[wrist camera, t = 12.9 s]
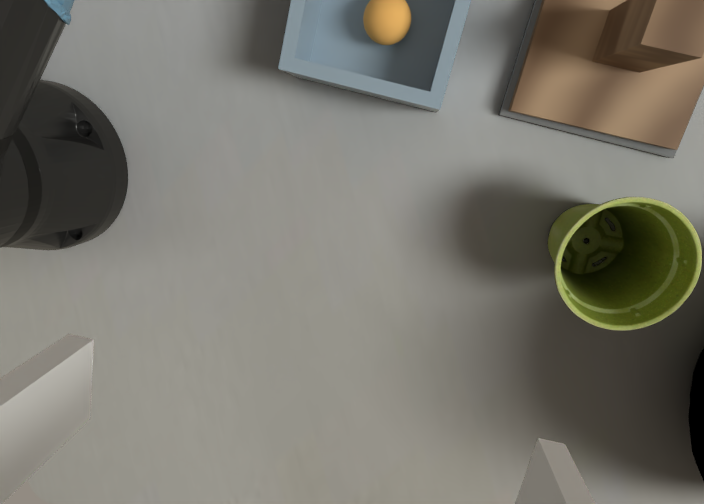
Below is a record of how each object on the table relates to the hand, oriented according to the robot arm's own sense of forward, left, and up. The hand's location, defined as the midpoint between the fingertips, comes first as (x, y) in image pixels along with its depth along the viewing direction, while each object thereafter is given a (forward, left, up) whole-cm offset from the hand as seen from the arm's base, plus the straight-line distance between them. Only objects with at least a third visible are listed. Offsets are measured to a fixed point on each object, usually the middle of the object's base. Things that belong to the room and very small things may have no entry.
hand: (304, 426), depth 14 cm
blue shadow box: (-4, +16, -30) cm, 35 cm away
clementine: (-3, +16, -28) cm, 32 cm away
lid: (+14, +18, -30) cm, 38 cm away
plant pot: (+17, +3, -30) cm, 35 cm away
